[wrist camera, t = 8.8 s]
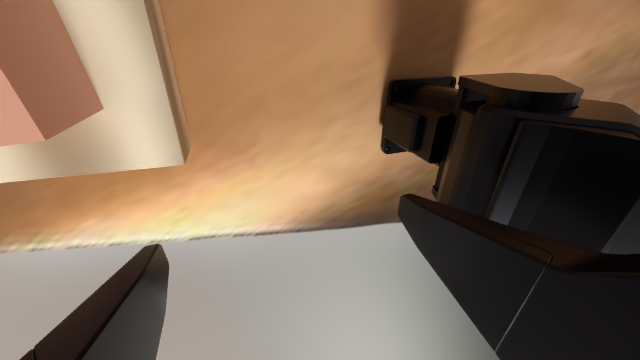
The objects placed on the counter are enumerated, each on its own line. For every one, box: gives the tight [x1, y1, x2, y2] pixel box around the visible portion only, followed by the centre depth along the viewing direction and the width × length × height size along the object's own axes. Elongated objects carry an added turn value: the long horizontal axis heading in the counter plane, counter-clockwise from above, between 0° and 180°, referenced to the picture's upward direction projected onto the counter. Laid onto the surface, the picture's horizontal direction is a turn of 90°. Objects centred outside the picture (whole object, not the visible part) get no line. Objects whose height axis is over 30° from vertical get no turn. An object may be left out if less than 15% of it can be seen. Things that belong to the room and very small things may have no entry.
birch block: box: [0, 0, 191, 183], centre depth 13 cm, size 11×11×4 cm
